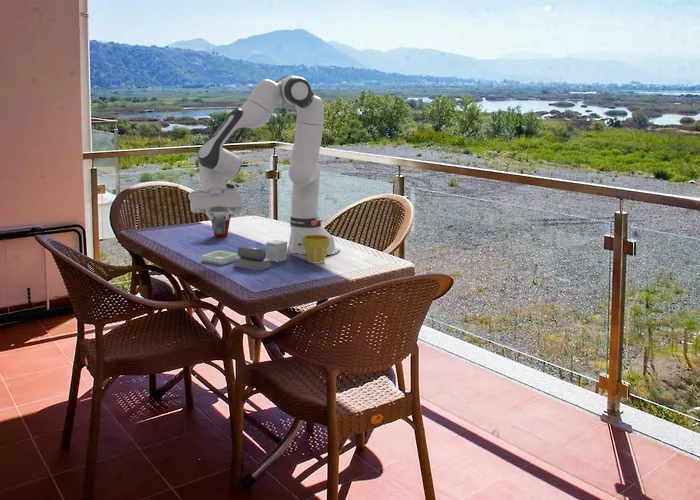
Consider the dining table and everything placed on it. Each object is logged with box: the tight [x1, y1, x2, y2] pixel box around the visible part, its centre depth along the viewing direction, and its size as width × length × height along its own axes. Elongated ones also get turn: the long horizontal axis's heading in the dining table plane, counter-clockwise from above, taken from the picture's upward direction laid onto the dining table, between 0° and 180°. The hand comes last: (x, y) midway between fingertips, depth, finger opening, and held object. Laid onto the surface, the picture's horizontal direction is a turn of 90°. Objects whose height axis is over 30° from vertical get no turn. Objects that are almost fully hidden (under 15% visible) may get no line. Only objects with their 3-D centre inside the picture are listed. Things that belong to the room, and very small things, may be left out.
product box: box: [265, 239, 288, 263], centre depth 267 cm, size 6×6×7 cm
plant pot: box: [303, 235, 329, 263], centre depth 266 cm, size 10×10×10 cm
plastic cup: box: [209, 211, 234, 239], centre depth 307 cm, size 11×11×12 cm
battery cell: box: [212, 205, 225, 235], centre depth 261 cm, size 4×4×11 cm
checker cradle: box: [233, 245, 272, 272], centre depth 256 cm, size 12×7×7 cm, turn 60°
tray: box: [201, 250, 239, 266], centre depth 264 cm, size 10×10×2 cm
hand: (219, 219), depth 260 cm, fingers closed on battery cell, 4 cm apart
